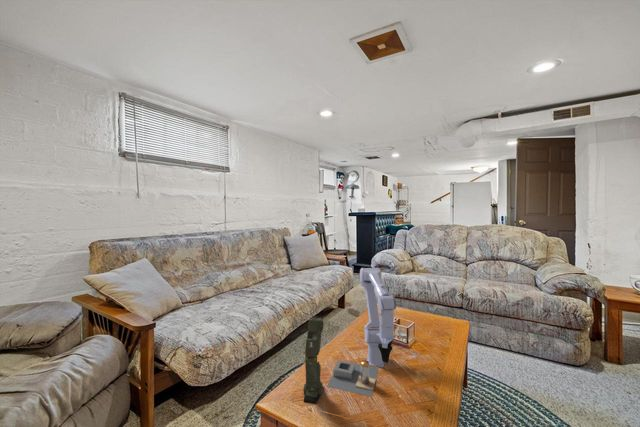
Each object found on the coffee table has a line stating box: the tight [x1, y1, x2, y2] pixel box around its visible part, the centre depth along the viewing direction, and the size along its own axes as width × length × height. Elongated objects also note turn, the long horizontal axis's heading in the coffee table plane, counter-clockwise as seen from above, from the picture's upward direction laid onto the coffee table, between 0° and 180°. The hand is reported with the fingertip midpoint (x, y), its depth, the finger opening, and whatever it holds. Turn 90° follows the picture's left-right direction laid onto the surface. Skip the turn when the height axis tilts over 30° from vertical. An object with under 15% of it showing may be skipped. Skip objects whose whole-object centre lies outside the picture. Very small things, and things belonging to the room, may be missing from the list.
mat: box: [326, 362, 379, 398], centre depth 117 cm, size 20×18×1 cm
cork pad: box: [356, 376, 377, 392], centre depth 112 cm, size 7×7×1 cm
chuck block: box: [332, 359, 356, 380], centre depth 119 cm, size 8×8×3 cm
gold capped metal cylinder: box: [360, 359, 370, 384], centre depth 112 cm, size 3×3×8 cm
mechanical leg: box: [303, 315, 325, 405], centre depth 107 cm, size 14×7×30 cm, turn 169°
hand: (386, 357), depth 114 cm, fingers open, 7 cm apart
